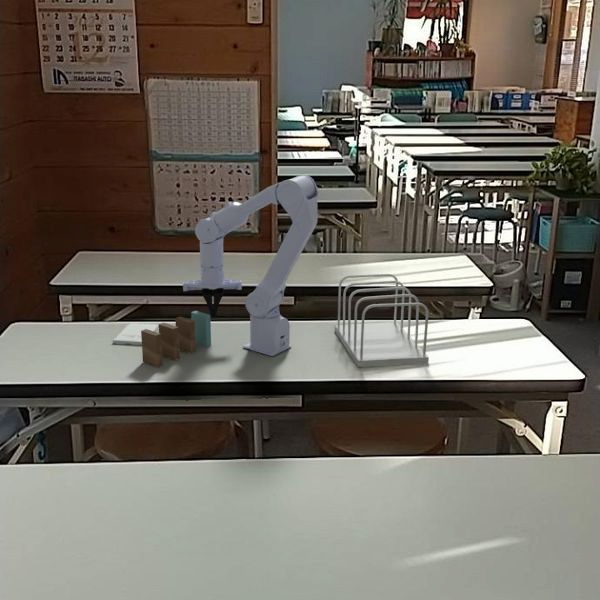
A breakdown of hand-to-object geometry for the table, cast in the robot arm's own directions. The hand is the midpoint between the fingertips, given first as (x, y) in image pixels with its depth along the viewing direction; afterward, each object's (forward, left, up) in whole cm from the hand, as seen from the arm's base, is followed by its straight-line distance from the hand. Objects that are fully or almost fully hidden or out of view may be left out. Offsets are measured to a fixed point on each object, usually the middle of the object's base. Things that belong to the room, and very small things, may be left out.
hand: (213, 316), depth 187 cm
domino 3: (0, +10, -6) cm, 12 cm away
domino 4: (0, +4, -6) cm, 7 cm away
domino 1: (0, +21, -6) cm, 22 cm away
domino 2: (0, +15, -6) cm, 17 cm away
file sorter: (-36, -22, -6) cm, 43 cm away
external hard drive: (+17, +11, -7) cm, 21 cm away
